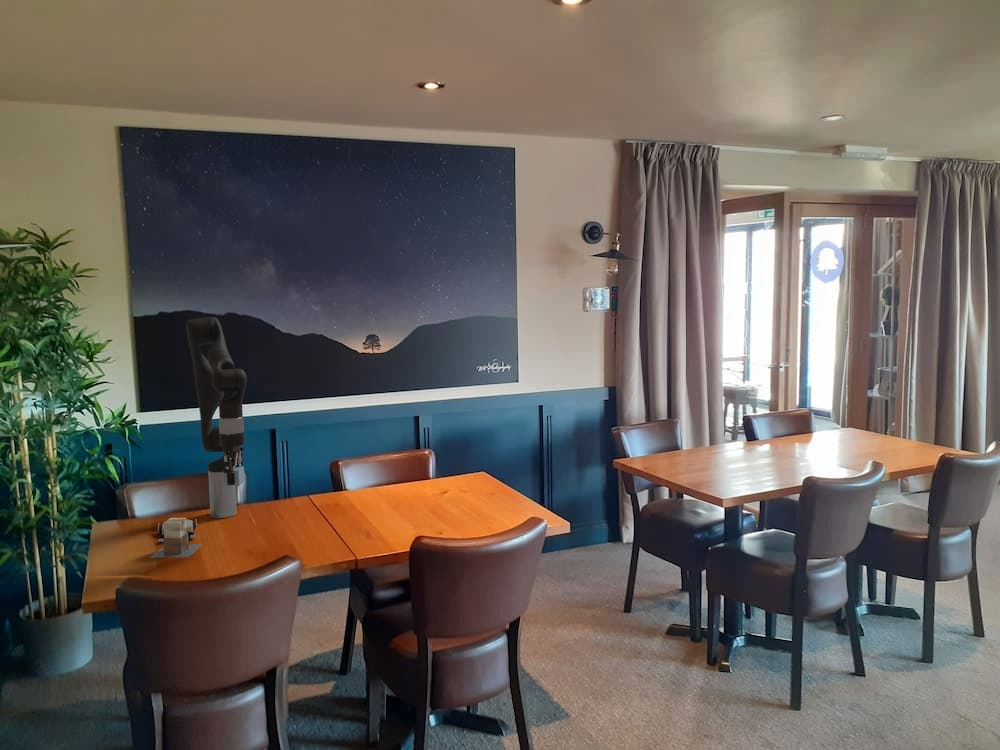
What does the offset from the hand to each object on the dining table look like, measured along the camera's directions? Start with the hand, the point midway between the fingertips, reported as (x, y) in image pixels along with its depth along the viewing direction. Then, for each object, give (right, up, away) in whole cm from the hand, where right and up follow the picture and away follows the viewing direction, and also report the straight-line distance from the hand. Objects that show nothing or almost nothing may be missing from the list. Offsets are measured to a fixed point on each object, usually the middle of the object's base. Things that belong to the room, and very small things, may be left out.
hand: (234, 482), depth 242 cm
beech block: (-17, -16, -5) cm, 24 cm away
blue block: (0, 0, 0) cm, 0 cm away
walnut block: (-17, -21, -5) cm, 27 cm away
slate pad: (-17, -22, -5) cm, 28 cm away
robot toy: (-23, -21, +10) cm, 33 cm away
